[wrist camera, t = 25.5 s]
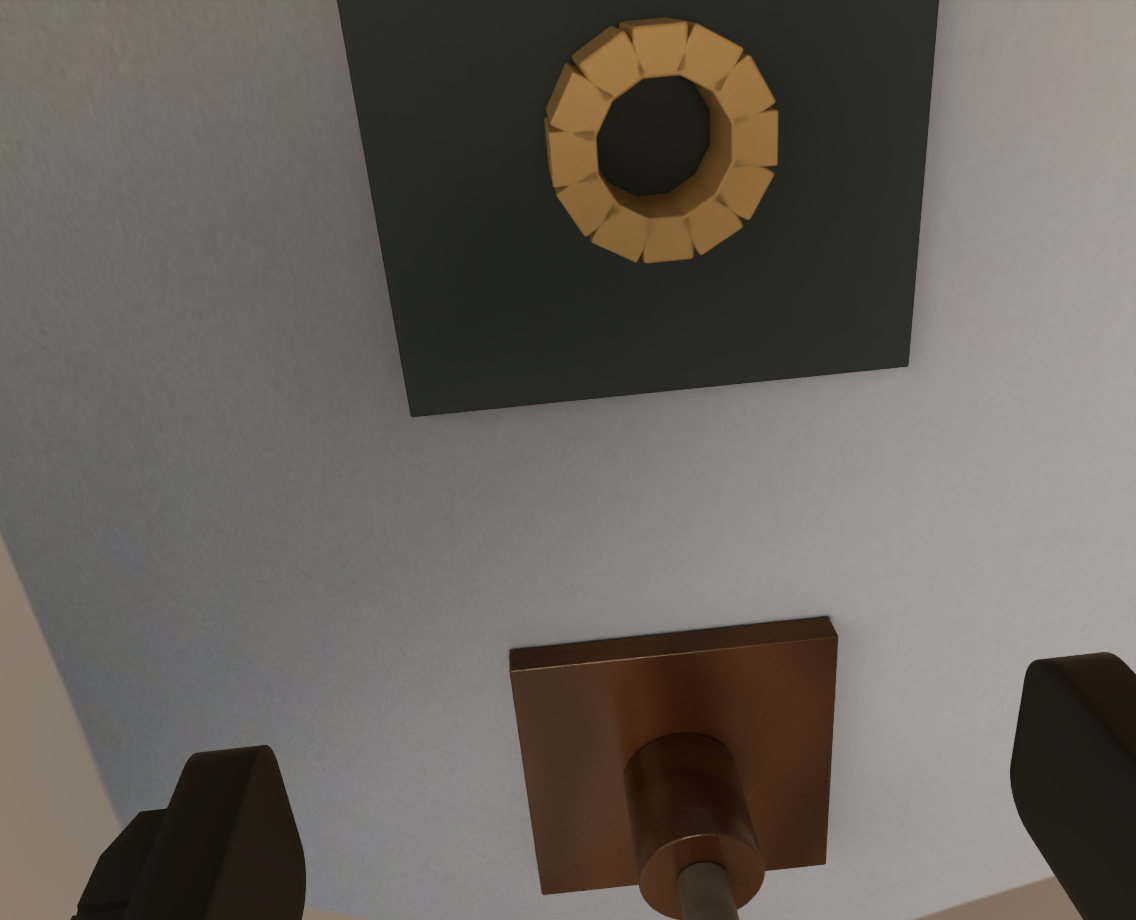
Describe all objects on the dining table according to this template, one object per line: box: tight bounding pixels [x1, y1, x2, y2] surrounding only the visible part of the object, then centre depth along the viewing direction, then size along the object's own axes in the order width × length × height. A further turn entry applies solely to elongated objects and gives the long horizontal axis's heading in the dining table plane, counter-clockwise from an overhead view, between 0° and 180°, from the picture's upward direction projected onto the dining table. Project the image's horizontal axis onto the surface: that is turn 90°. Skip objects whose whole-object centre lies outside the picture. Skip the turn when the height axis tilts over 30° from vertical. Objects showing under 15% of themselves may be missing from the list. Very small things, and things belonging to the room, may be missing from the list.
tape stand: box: [509, 617, 838, 920], centre depth 34 cm, size 12×12×10 cm
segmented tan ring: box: [544, 17, 778, 263], centre depth 25 cm, size 6×6×3 cm
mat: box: [337, 0, 939, 417], centre depth 27 cm, size 16×16×1 cm
